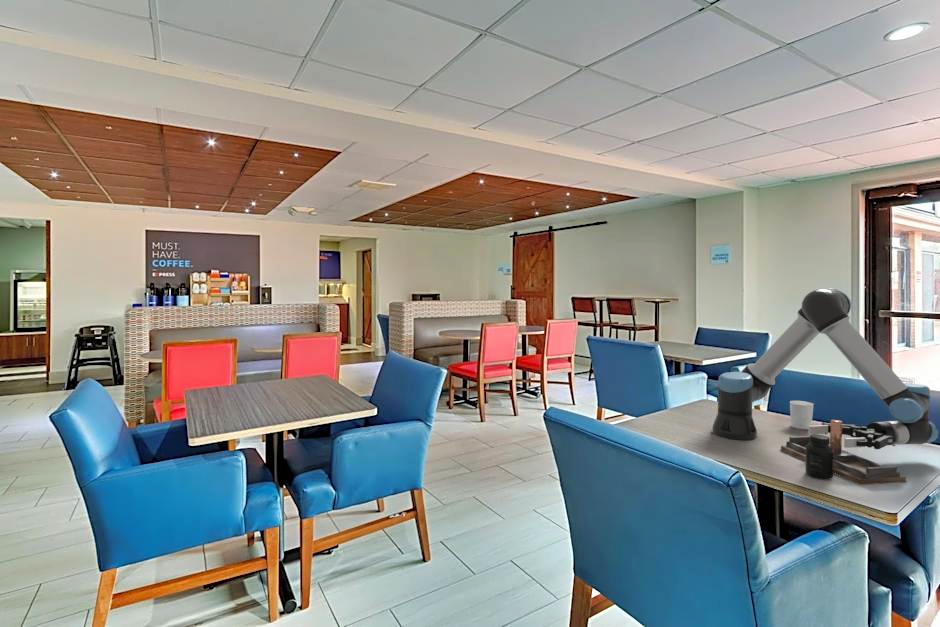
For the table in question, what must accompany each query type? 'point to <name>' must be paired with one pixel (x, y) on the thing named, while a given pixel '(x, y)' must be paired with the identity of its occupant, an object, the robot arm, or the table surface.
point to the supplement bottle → (819, 457)
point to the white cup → (801, 414)
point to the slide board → (849, 465)
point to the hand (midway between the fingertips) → (826, 436)
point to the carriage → (838, 443)
